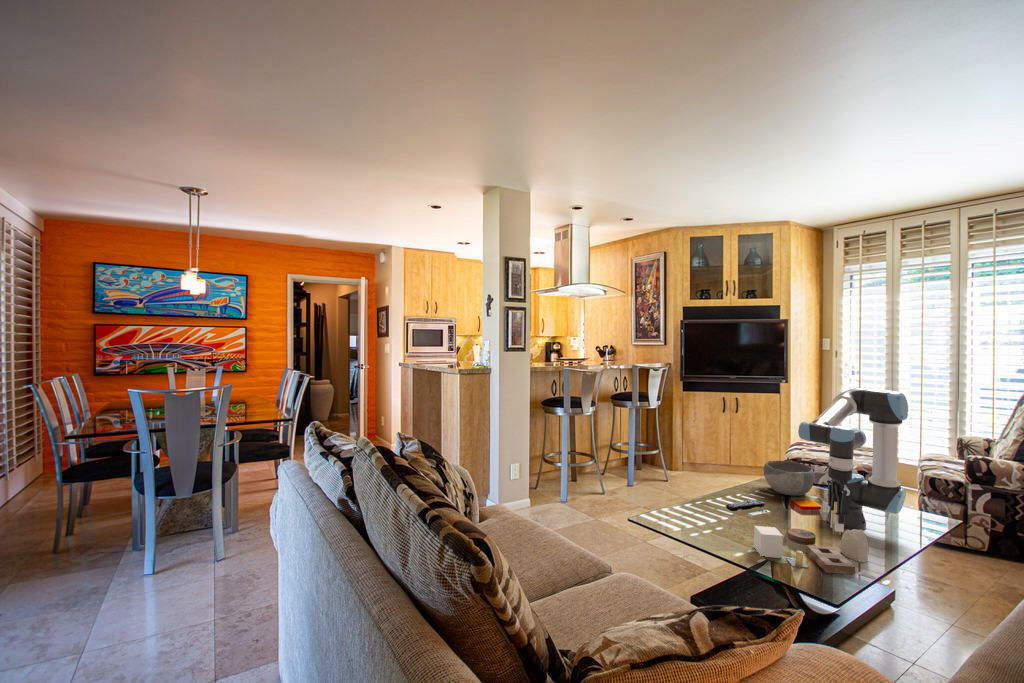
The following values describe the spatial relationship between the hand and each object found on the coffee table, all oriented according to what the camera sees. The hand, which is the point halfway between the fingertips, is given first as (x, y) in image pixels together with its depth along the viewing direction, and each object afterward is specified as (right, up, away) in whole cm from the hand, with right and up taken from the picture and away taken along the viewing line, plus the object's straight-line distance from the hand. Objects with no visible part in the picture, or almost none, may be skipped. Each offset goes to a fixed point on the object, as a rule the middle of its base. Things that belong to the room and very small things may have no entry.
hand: (836, 529), depth 188 cm
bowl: (+28, -12, +85) cm, 90 cm away
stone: (+13, -15, +10) cm, 22 cm away
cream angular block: (-13, -15, +3) cm, 20 cm away
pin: (0, -2, 0) cm, 2 cm away
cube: (-20, -14, +12) cm, 27 cm away
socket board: (0, -15, +5) cm, 16 cm away
